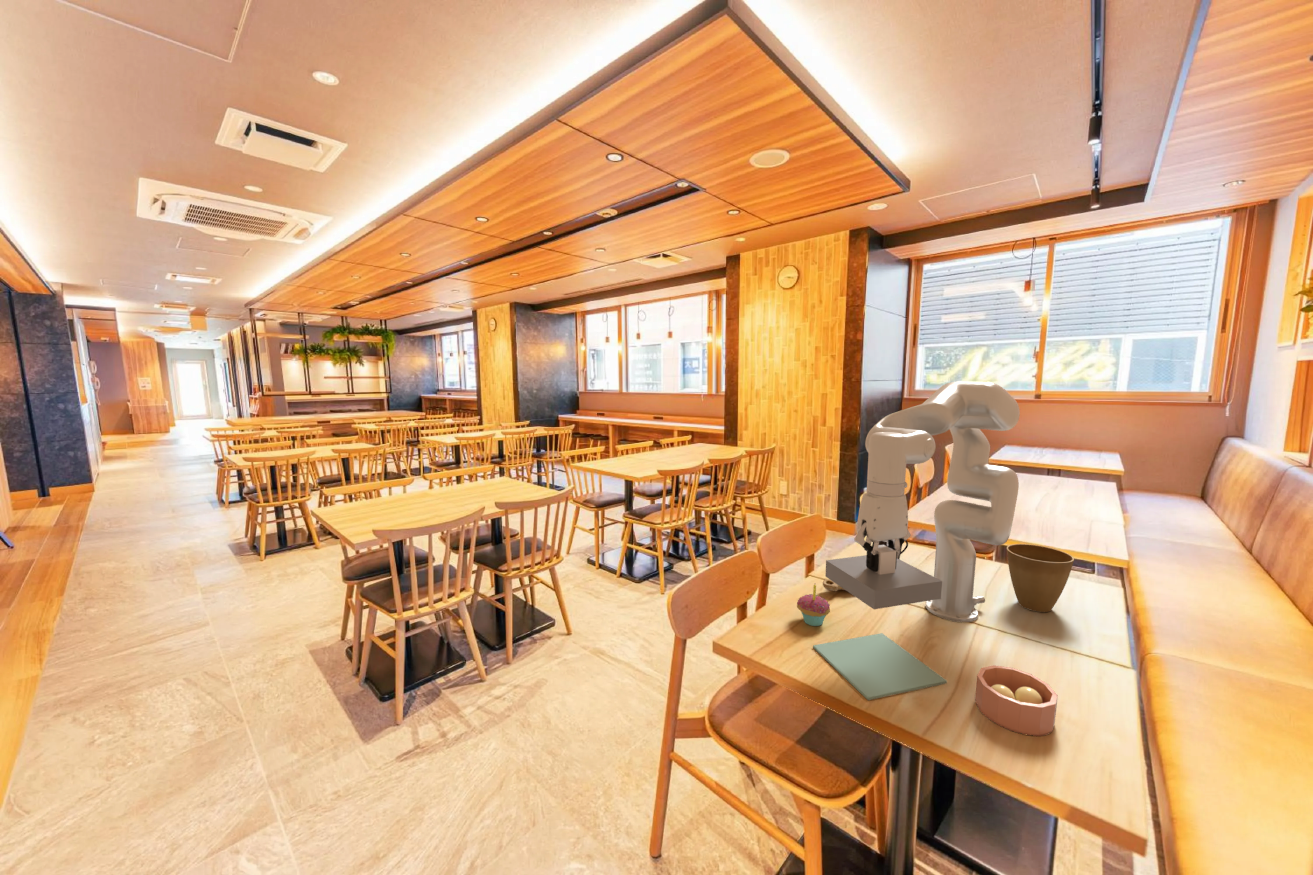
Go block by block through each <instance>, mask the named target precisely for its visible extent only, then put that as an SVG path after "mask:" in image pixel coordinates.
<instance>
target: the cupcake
mask: <svg viewBox="0 0 1313 875" xmlns="http://www.w3.org/2000/svg"><path fill="white" fill-rule="evenodd" d="M812 590H813V591H812V593H809V594H805V595H802V596H801V597H799V598H798V599H797V603H796V609H798V610H799V611H800V612H801V615H802V617H803V618H802V619H803V622H804V623H805V624H806V625H809V626H813V627H819V626H822V625H823V624H824V621H825V618H826V617H827V616H828V615H829V613H831V606H830V605H831V604H830V602H829V601H828V600H827V599H825V598H824V597H822V596H820V595H817V593H816V591H817V585H816V584H814V585H813V588H812Z"/></svg>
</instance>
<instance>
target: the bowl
mask: <svg viewBox="0 0 1313 875" xmlns="http://www.w3.org/2000/svg"><path fill="white" fill-rule="evenodd" d="M974 696H975V697H974V698H975V699H974V701H975V703H976V707H977V708H978V710H979V712H981V714H982V715H983V716H985V717H986V718H987V719H988V720H989V721H991V722H992V723H993V724H996V725H998V726H999V727H1001V728H1003V729H1004V730H1008V731H1010V732H1013V731H1014V733H1016V732H1017V733H1016V734H1019V733H1022V734H1021V735H1023V734H1027V735H1026V736H1029V735H1033V736H1032V737H1044V736H1047V735H1049V734H1051V733H1052V732H1053V730H1054V727H1055V722H1056V717H1057V716H1056V715H1057V708H1058V700H1059V698H1058V697H1059V696H1058V693H1057V692H1055V690H1054V689H1053V688H1052V687H1051V686H1050V684H1049V683H1047V682H1045V681H1044V680H1042V679H1041V678H1039V677H1037V676H1036V675H1034V674H1032V673H1029V672H1026V671H1023V670H1020V669H1017V668H1014V667H1011V666H1002V665H995V664H994V665H989V666H984V667H981V668H980V669H979V671H978V673H977V675H976V687H975V695H974Z"/></svg>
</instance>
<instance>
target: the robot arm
mask: <svg viewBox="0 0 1313 875" xmlns="http://www.w3.org/2000/svg"><path fill="white" fill-rule="evenodd" d="M1020 410H1021V409H1020V405H1019V404H1018V402H1017V400H1016V399H1015V398H1014V396H1012V395H1011V394H1010V392H1008V391H1007V390H1006V389H1005V388H1003V387H1002V386H1001V385H999V384H997V383H994V382H991V381H951V382H947V383H945V384H943V385H941V386H940V387H939V388H938V389H937V390H936V391H934V393H932V394H931V395H930V396H929V397H928V398H927V399H925V401H924V402H922V403H921V404H918V405H915V406H911V407H908V408H905V409H901V410H899V411H896V412H893V413H890V414H888V415H886V416H884V417H883V418H881V419H880V420H879V421H878V422H877V423H876V424H874V425H873V427H872V428H870V429H869V431H868V432H867V435H866V438H865V444H864V446H865V449H866V452H867V453H868V456H867V458H868V459H867V460H868V461H867V474H866V475H867V478H866V493H862V494H863V495H862V496H861V500H860V504H859V510H858V517H857V523H856V524H857V525H856V534H855V536H854V539H853V540H854V541H853V542H856V544H858V545H860V546H861V547H862V548H863V549H864V551H866V555H867V556H866V567H867V568H869V569H871V570H872V571H874V572H877V571H878V563H879V555H878V554H876V553H877V550H878V545H879V541H885V540H886V541H887V547H889V548H891V549H893V550H895V551H896V563H897V552H899V551H900V547H901V546H902V547H903V544H904V543H905V541H906V540H907V541H908V539H910V538H911V536H912V535H911V532H910V530H909V508H908V500H907V496H906V494H905V488H908V483H907V482H906V477H907V476H906V472H907V464H909V465H911V464H912V465H913V464H914V465H919V464H924V463H926V462H928V461H930V459H931V458H932V457H933V456H934V455H935V451H936V448H937V447H936V442H935V438H934V437H933V436H938V435H940V434H943V433H947V432H948V431H950V434H951V437H952V443H953V444H952V445H953V447H952V451H951V458H950V463H949V468H948V469H949V470H948V475H947V482H946V483H947V485H946V486H947V489H948V491H949V492H950V493H951V494H954V495H957V496H960V497H964V498H970V499H975V500H980V501H984V502H985V501H986V502H989V503H990V506H988V505H982V504H977V503H974V502H973V503H972V502H967V501H962V500H956V499H955V500H954V499H947V500H943V501H941V502H939V503H938V504H937V505H936V506H935V509H934V512H933V513H934V514H933V519H934V520H933V521H934V526H935V527H934V528H935V558H934V569H933V570H934V571H933V573H934V574H933V577H935V578H937V579H939V580H941V581H942V591H941V599H936V600H930V601H925V608H926V609H927V611H929V612H930V613H931V614H933V615H935V616H937V617H939V618H941V619H944V620H946V621H952V622H957V623H972V622H974V621H977V619H978V618H979V611H978V610H977V609H976V607H975V606H977V604H983V603H985V602H986V598H985V597H984V596H982V595H977V596H974V589H975V588H974V586H975V574H976V563H977V553H976V550H975V547H974V545H973V543H972V541H975V542H979V543H983V544H989V545H993V546H1002V545H1004V544H1006V543H1007V541H1008V540H1009V538H1010V535H1011V532H1012V528H1013V522H1014V516H1015V511H1016V505H1017V500H1018V496H1019V489H1020V488H1019V485H1020V484H1019V477H1018V474H1017V473H1016V472H1015V470H1013V469H1011V468H1009V467H1006V466H1002V465H994V464H989V458H990V452H991V445H990V442H989V440H988V438H987V436H986V435H985V434H984V432H983V431H982V430H989V431H997V432H998V431H999V432H1000V431H1001V432H1002V431H1003V432H1004V431H1005V432H1006V431H1009V430H1012V429H1013V428H1014V427H1016V425H1017V424H1018V422H1019V421H1020V420H1019V419H1020V415H1021V414H1020V413H1021V412H1020ZM895 569H896V565H895Z"/></svg>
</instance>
